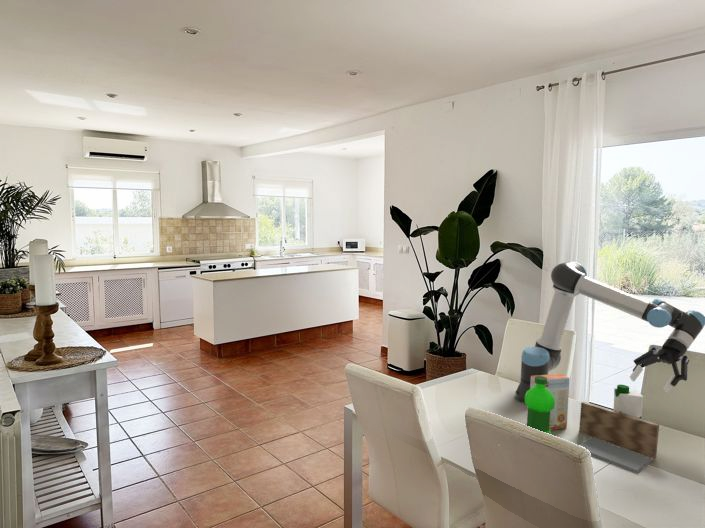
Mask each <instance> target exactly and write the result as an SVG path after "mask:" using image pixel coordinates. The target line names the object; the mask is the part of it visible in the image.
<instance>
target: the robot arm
mask: <svg viewBox="0 0 705 528" xmlns="http://www.w3.org/2000/svg"><path fill="white" fill-rule="evenodd" d="M587 272H588V271H587V270H586V268H585V266H584V265H582V264H581V263H579V262H576V261H566V262H561V263H559V264H557V265H555V266H554V267H553V268H552V270H551V273H550V279H551V281H552V284H553V285H552V288H553V290H554V293H553V297H552V300H551V304H550V307H549V310H548V312H547V316H546V319H545V324H544V325H543V326H544V327H543V329H542V332H541V333H542V334H541V337H540V338H538V339H536V341H535V345H534V346H530V347H526V348H524V349H523V350H522V353H521V357H520V358H521V364H520V367H521V368H520V379H519V380H520V382H519V383H518V386H517V388H516V391H515V399H516V400H517V401H519V402H521V403H523V404H525V394H526V392H527V391H528V390H530V380H531V376H535V375H549V372H551V371H553V370H554V369H557V367H558V365H559V364H560V363H561V360H562V359H561V358H562V354H561V353H562V349H563V347H562V346H561V341H562V337H563V335H564V330H565V327H566V324H567V322H568V319H569V316H570V311H571V309H572V305H573V302H574V300H575V297H576V296H578V295H583V296H584V297H588V299H589V298H590V299H592V300H595V301H597V302H599V303H602V304H604V305H606V306H609V307H612V308H614V309H615V310H619V311H620V312H624V313H625V314H629V315H630V316H633V317H635V318H638V319H640V320H642V321H645V322H647V323H649V325H650V326H651V327H654V328H660V329H661V328H664V327H667V326H670V327H671V328H673V330H672V331H671V333H670V334H669V336H668V338H667V339H665V341H664V343H663V344H662V347H661V348H660V349H657V347H656V346H653V347H651V348H650V349H649V350H648V351H646V352H645V353H643V354H641V355H640V356H638V357H637V358H635V359H633V362H634V365H635V366H634V367H633V369H632V373H631V374H630V376H629V378H630V380H631V381H632V382H635V381H636V380H637V378H638V377H639V376H640V374H641V373H642V372H643V370H644V369H643V368H645V367H648V366H652V365H653V364H656V363H663V364H664V363H665V364H667V365H671V367H672V370H673V373H674V374H672V375H671V376H670V378H668V380H667V382H666V383H665V385H664V386H663V387H662V389H663V390H664V392H665V393H666V394H669V392H670V391H671V390H672V388H673V387H676V386H677V385H678V383H679V382H680V381H685V382H686V381H687V380H688V364H689V363H690V359H689V358H688V356H687V355H685V354H686V353H687V351H688V349H689V348H690V347H691V345H693V342H695V340H696V338H697V337H698V336H699V335H700V333H701V332H702V330H703V329H704V327H705V315H704V314H703V313H701V312H700V311H696V310H693V309H690V310H688V311H686V312H685V311H683V310H681V309H679V308H677V307H675V306H673V305H672V304H670V303H668V302H666V301H665V300H662V299H660V298H654V299H653V300H652V301H648V300H646V299H643V298H640V297H638V296H635V295H633V294H631V293H627V292H626V291H623V290H620V289H618V288H615V287H613V286H610V285H608V284H605V283H602V282H601V281H597V280H595V279H593V278H590V277H588V273H587ZM680 361H681V362H680ZM677 362H680V370H679V367H678V363H677Z"/></svg>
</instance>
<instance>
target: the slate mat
mask: <svg viewBox="0 0 705 528" xmlns="http://www.w3.org/2000/svg"><path fill="white" fill-rule="evenodd" d="M579 445H581V446H583V447H585V448H586V449H588V450H589V451H590V453H591V455H592V457H594V458H597V459H599V460H601V461H602V460H603V461H604V462H607V463H609V464H612V465H615V466H617V467H620V468H623V469H625V470H628V471H630V472H633V473H636V474H638V473H640V472H641V471H642V470H643V469H644V468H645V467H647V466H648V465H649V464H650V463H651V462H652V461H653V458H650V457H647V456H644V455H642V454H639V453H636V452H633V451H630V450H628V449H625V448H622V447H619V446H616V445H614V444H611V443H608V442H605V441H602V440H600V439H597V438H594V437H590V438H588V439H587V440H585V441H584V442H582V443H581V444H579ZM591 455H590V456H591Z"/></svg>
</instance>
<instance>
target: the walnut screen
mask: <svg viewBox="0 0 705 528" xmlns="http://www.w3.org/2000/svg"><path fill="white" fill-rule="evenodd" d="M578 428H579V430H578V432H579V433H580V434H583V435H586V436H589V437H590V438H592V437H593V438H596V439H599V440H602V441H605V442H607V443H610V444H613V445H616V446H619V447H621V448H624V449H627V450H630V451H633V452H635V453H638V454H641V455H644V456H646V457H649V458H652V460H655V459H656V458H657V454H658V453H657V452H658V440H659V429H660V423H656V422H653V421H649V420H646V419H643V418H641V419H640V418H637V417H633V416H630V415H627V414H624V413H620V412H617V411H614V410H613V409H610V408H606V407H603V406H600V405H598V404H594V403H592V402H587V401H581V403H580V414H579V427H578Z"/></svg>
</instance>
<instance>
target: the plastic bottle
mask: <svg viewBox="0 0 705 528" xmlns="http://www.w3.org/2000/svg"><path fill="white" fill-rule="evenodd" d="M535 383H536V386H535V387H533V388H531V389H530V390H528V391H527V392H526V394H525V403H524V404H525V406H526V407H527V415H526V417H527V418H526V425H527V426H530V427H532V428H535V429H538V430H540V431H543V432H546V433H549V434H551V435H552V430H550V429H549V422H550V411H551V410H553V409H554V405H555V399H554V396H553V394H552V393H551V392H550V391H549V390H548V389H546V388H545V384H547V378H546V377H543V376H535ZM526 425H525V426H526Z"/></svg>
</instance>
